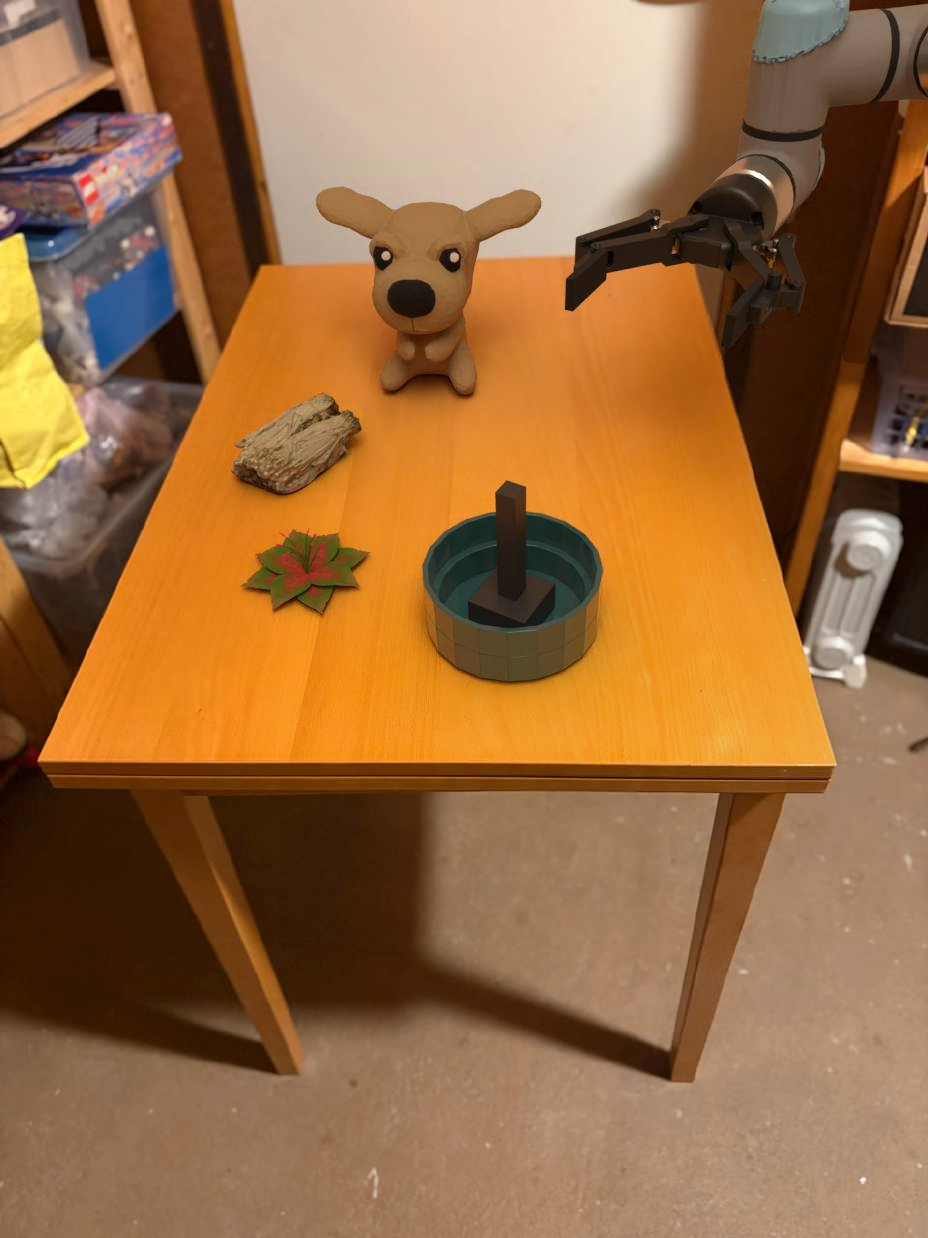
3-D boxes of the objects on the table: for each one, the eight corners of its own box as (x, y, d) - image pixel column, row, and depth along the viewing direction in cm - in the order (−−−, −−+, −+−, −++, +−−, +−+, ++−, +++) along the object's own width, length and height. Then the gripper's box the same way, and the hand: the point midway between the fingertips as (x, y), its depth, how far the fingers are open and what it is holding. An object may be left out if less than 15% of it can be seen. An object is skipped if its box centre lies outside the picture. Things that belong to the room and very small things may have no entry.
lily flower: (393, 552, 90) (388, 515, 86) (327, 634, 82) (320, 597, 79) (290, 521, 94) (281, 484, 90) (218, 597, 86) (206, 560, 83)
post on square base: (555, 607, 82) (559, 480, 72) (524, 647, 79) (524, 520, 69) (500, 586, 85) (497, 460, 75) (468, 625, 81) (461, 498, 71)
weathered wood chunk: (311, 417, 107) (303, 376, 103) (373, 445, 102) (367, 402, 98) (215, 480, 99) (203, 437, 95) (278, 513, 95) (268, 469, 91)
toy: (313, 412, 107) (281, 241, 93) (353, 329, 121) (331, 168, 107) (527, 423, 104) (528, 247, 90) (544, 336, 117) (547, 170, 103)
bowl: (625, 598, 84) (631, 543, 79) (547, 711, 75) (549, 657, 70) (483, 545, 90) (481, 492, 85) (395, 645, 81) (387, 591, 76)
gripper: (865, 279, 84) (791, 392, 72) (612, 231, 94) (509, 322, 81) (888, 194, 79) (813, 300, 66) (618, 152, 89) (508, 237, 76)
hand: (645, 312), depth 74 cm, fingers open, 13 cm apart
